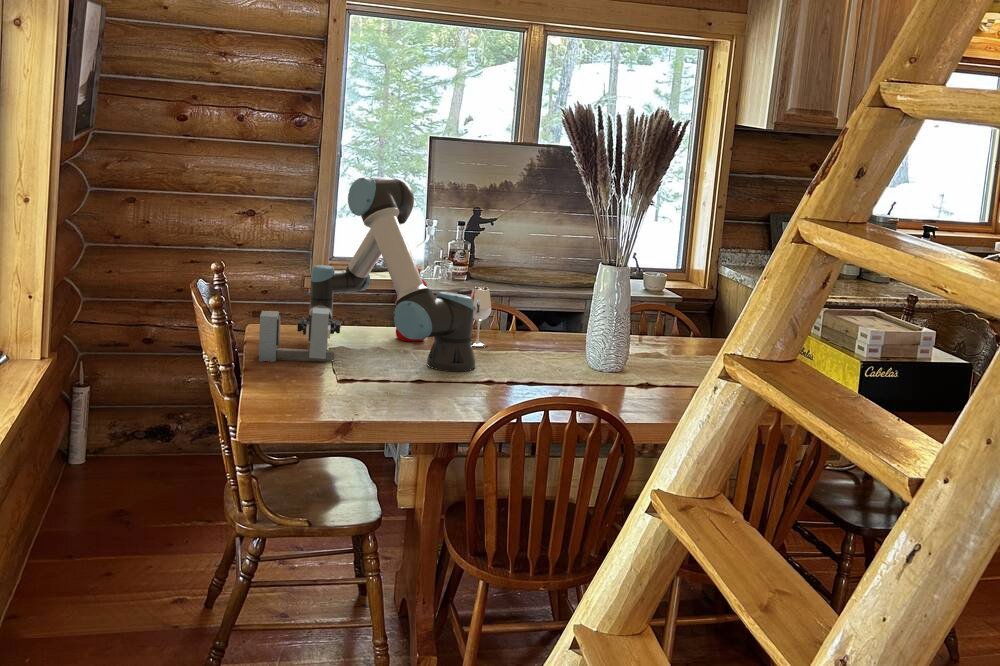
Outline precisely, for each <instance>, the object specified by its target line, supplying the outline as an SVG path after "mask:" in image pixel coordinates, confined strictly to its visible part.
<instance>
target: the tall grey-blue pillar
mask: <svg viewBox="0 0 1000 666" xmlns="http://www.w3.org/2000/svg"><path fill="white" fill-rule="evenodd" d="M328 321H329V309H325V308H313V311H311V313H310V324H309V337H307V338H308V342H309V349H310V352H309V358H319V359H326V350H327V348H328V347H327V346H328V338H327V335H328Z"/></svg>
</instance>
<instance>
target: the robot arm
mask: <svg viewBox="0 0 1000 666" xmlns="http://www.w3.org/2000/svg"><path fill="white" fill-rule="evenodd" d="M414 203H415V196H414V192H413V189H412V187H411V186H410V184H409V183H407V181H405V180H404V179H401V178H399V177H394V176H393V177H375V176H374V177H372V176H367V177H366V176H365V177H359V178H357V179H355V180H354V181H352V184H351V185H350V187H349V190H348V194H347V204H348V208H349V211H350V212H351V213H352V214H354V215H355V216H358V217H360V218H361V220H362V223H363V224H364V226H365V227H367V228H370V229H369V230H368V232H367V234H366V235H365V237H363V240H362V242H361V244H360V245H359V246H358V249H357V250H356V251H355V253H354V255H353V256H352V258H351V259H350V262H348V265H347V267H346V268H345V269H342V270H335V268H334V266H332V265H326V264H325V265H323V264H317V265H314V266H313V267H311V272H310V273H311V274H310V296H309V297H310V298H309V313H308V318H306V319H305V318H303V317H298V320H297V321H298V322H297V326H296V327H297V329H296V330H297V332H299V333H300V332H302V334H303V336H304V335H305V338H309V324H310V313H311V311H313V308H325V309H329V321H328V335H327V339H330V338H331V335H335V334H340V333H341V327H342V326H341V325H342V319H339V318H338V319H333V312H334V305H333V303H334V294H341V293H342V294H343V293H353V292H354V293H358V292H361V291H362V292H363V291H366V290H367V289H368V288H369V287H370V282H371V276H370V273H371V271H372V270H373V268H374V267H375V265H376V264H377V262H378V260H380V257H381V256H382V260H383V261H384V264H385V267H386V270H387V272H388V273H389V277H390V279H391V282H392V284H393V287H394V289H395V292H396V294H397V297H396V304H395V306H396V305H397V306H396V307H395V308H394V312H393V314H394V316H393V321H394V324H395V328H396V327H397V329H398V331H399V332H400V333H401V334H402V335H403V336H404V337H407V338H409V339H424V340H425V339H427V338H428V339H429V338H434V339H433V343H432V345H431V348H430V351H429V353H428V356H427V360H426V365H427V364H428V365H429V366H430V367H429V366H428V365H427V366H428V367H429V368H431V367H433V368H432V369H434V368H437V369H436V370H438V369H441V370H440V371H443V370H448V371H447V372H466V371H465V370H469V371H471V370H470V369H472V370H474V369H476V357H475V354H474V348H473V347H472V345H471V342H472V334H473V333H472V325H473V326H474V319H473V312H474V309H473V307H474V301H473V299H472V298H471V297H469V296H466V295H461V294H456V293H449V292H447V291H438V292H437V294H436V297H435V296H434V292H433V290H432V289H431V288H430V287H428V286H427V287H426V286H424V284H423V281H422V279H423V278H422V277H421V273H420V274H419V271H418V269H419V268H418V266H417V264H416V261H415V259H414V257H413V254H412V252H411V249H410V247H409V244H408V242H407V240H406V237H405V235H404V233H403V230H402V227H401V225H403V224H405V223H406V222H407V220H408V219H409V217H410V215H411V214H412V212H413V209H414V205H415V204H414ZM417 268H418V269H417ZM473 368H474V369H473Z"/></svg>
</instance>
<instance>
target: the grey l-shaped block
mask: <svg viewBox="0 0 1000 666" xmlns="http://www.w3.org/2000/svg"><path fill="white" fill-rule="evenodd" d="M258 338H259V340H258V346H259V347H258V362H263V361H268V362H267V363H269V361H270V362H271V363H276V362H277V361H294V360H295V362H296V361H297V362H298V361H299V362H300V361H301V362H302V361H303V362H321V363H322V362H324V363H325V362H328V363H332V362H331V361H332V360H334V361H335V350H332V349H329V350H328V349H326V359H319V358H309V352H310V348H309V349H308V348H307V349H305V348H283V347H282V348H281V347H279V344H280V342H281V341H280V340H281V314H280V312H279V311H278V310H276V311H274V310H261V313H260V315H259V337H258Z"/></svg>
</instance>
